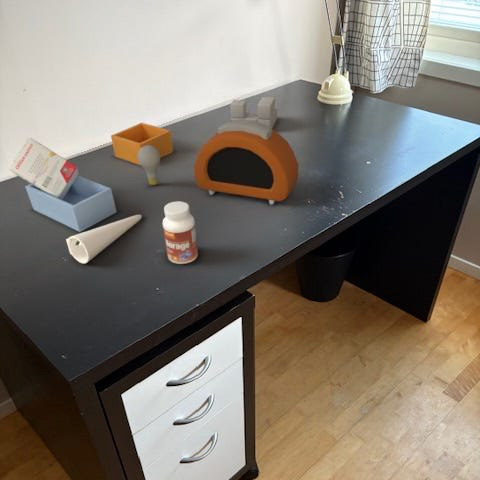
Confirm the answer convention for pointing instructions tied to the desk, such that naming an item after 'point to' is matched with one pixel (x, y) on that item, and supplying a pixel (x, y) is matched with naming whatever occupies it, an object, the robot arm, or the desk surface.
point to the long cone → (98, 238)
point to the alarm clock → (247, 162)
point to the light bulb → (149, 162)
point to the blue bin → (75, 204)
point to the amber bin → (141, 141)
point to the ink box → (44, 169)
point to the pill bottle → (179, 233)
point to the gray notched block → (265, 111)
